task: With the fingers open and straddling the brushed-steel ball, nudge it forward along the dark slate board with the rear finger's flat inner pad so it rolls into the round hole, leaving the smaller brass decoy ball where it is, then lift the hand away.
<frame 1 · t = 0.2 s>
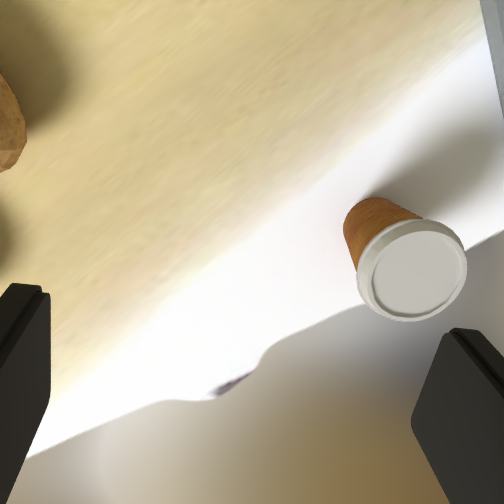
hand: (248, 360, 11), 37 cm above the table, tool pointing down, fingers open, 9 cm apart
disposable coffee cup: (371, 225, 51), on the table
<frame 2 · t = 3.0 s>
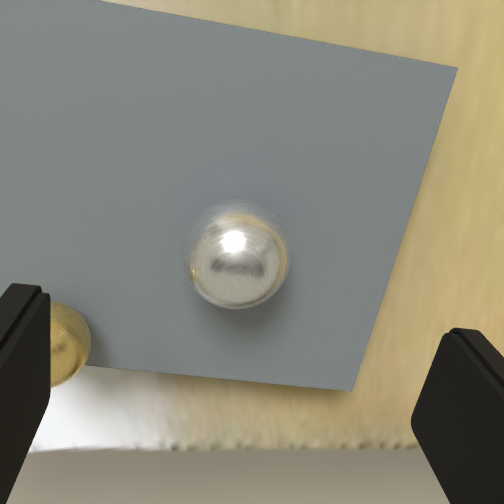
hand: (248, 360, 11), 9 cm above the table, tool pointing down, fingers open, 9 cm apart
ball: (236, 254, 15), point 4 cm above the table, touching hole board
decoy ball: (45, 344, 17), point 4 cm above the table, touching hole board
hole board: (52, 182, 18), on the table
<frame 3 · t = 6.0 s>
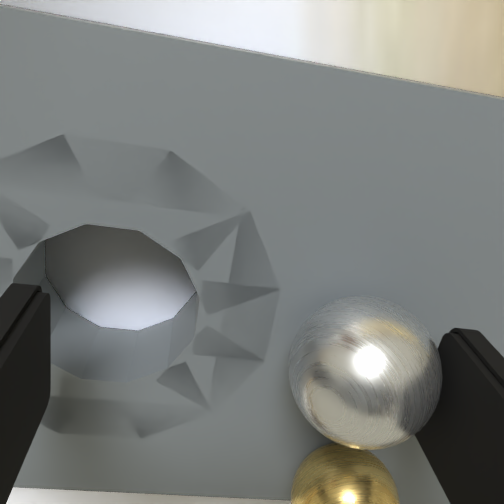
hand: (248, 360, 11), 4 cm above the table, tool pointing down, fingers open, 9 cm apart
ball: (362, 369, 11), point 4 cm above the table, tilted 138°, touching hole board
decoy ball: (344, 499, 14), point 4 cm above the table, touching hole board
hole board: (316, 288, 15), on the table
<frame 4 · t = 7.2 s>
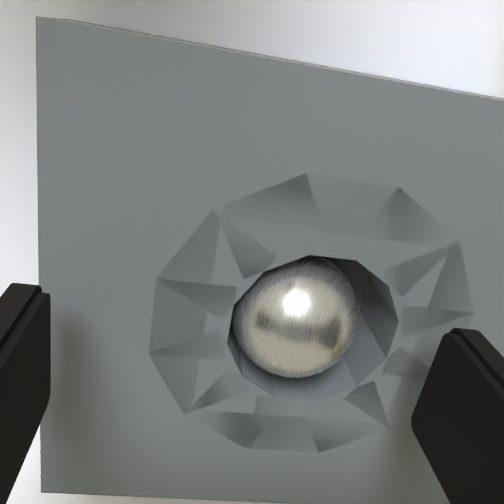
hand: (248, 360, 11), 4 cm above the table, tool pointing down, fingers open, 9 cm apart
ball: (293, 313, 13), point 2 cm above the table, tilted 125°
hole board: (472, 307, 16), on the table
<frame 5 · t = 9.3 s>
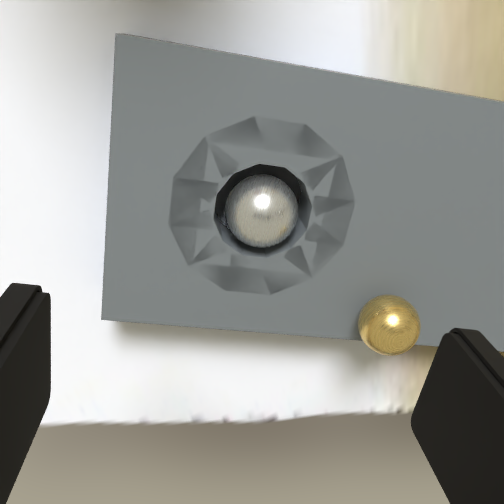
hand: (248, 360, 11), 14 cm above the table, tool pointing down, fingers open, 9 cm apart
ball: (261, 211, 23), point 2 cm above the table, tilted 109°
decoy ball: (388, 324, 24), point 4 cm above the table, touching hole board
hole board: (366, 210, 26), on the table
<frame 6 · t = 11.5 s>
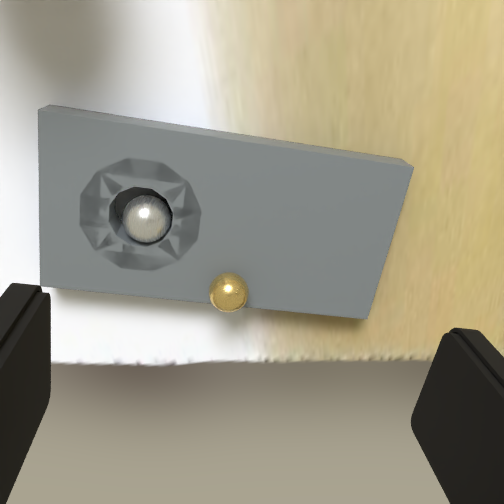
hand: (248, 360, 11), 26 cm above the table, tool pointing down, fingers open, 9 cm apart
ball: (146, 218, 35), point 2 cm above the table, tilted 99°
decoy ball: (228, 292, 36), point 4 cm above the table, touching hole board
hole board: (222, 216, 38), on the table
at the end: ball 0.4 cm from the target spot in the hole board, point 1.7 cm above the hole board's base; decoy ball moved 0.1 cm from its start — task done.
